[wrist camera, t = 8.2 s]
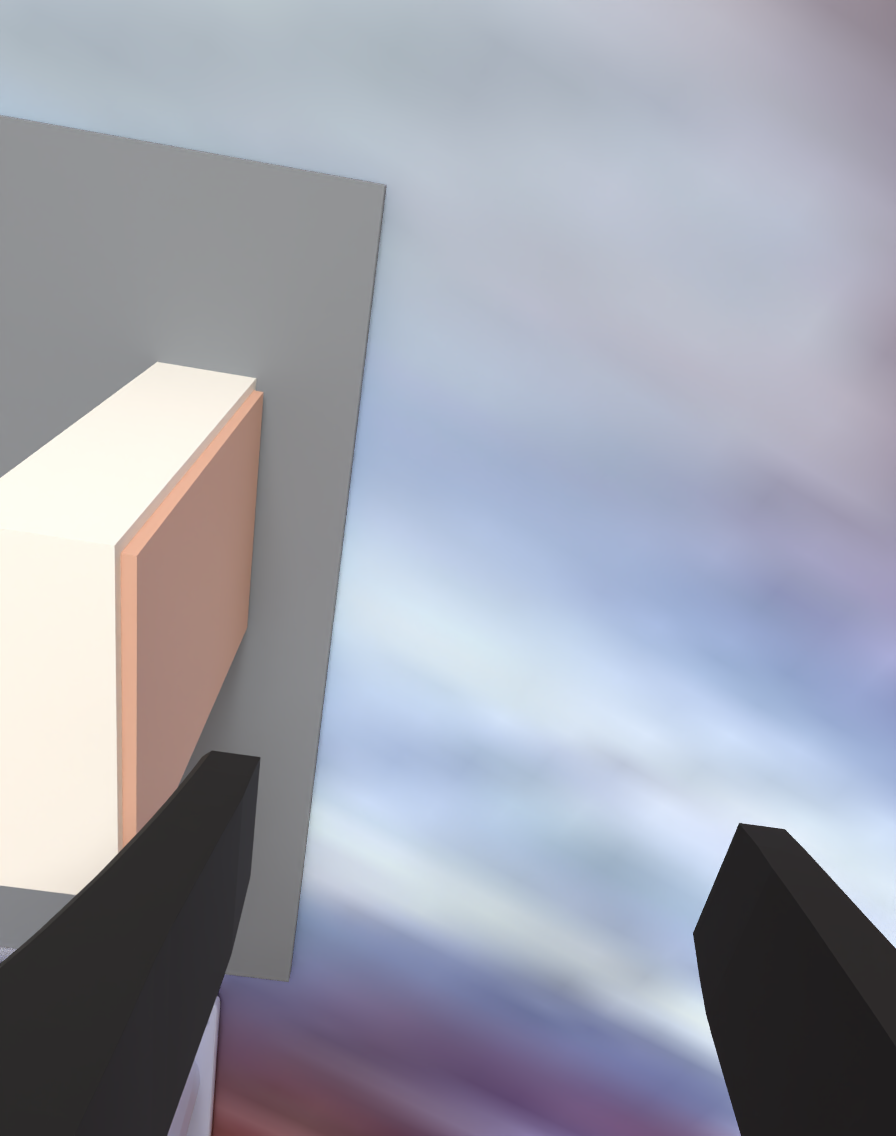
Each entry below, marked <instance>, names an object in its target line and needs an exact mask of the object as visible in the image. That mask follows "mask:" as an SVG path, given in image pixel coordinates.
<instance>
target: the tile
mask: <svg viewBox="0 0 896 1136" xmlns="http://www.w3.org/2000/svg"><path fill="white" fill-rule="evenodd" d="M263 393H264V392H260V391H256V378H252V377H246V376H240V375H234V374H228V373H222V372H216V371H210V370H203V369H197V368H191V367H185V366H179V365H173V364H167V363H161V362H156V363H155V364H154V365H152V366H151V367H150V368H148V369H147V370H146V371H144V372H143V373H142V374H140V375H139V376H137V377H136V378H135V379H133V380H132V381H131V382H129V383H128V384H127V385H125V386H124V387H123V388H121V389H120V390H119V391H117V392H116V393H115V394H113V395H112V396H110V397H109V398H108V399H106V400H105V401H104V402H102V403H101V404H100V405H98V406H97V407H96V408H94V409H93V410H92V411H90V412H89V413H87V414H86V415H85V416H83V417H82V418H81V419H79V420H78V421H77V422H75V423H74V424H73V425H71V426H70V427H69V428H67V429H66V430H65V431H63V432H62V433H60V434H59V435H58V436H56V437H55V438H54V439H52V440H51V441H50V442H48V443H47V444H46V445H44V446H43V447H42V448H40V449H39V450H37V451H36V452H35V453H33V454H32V455H31V456H29V457H28V458H27V459H25V460H24V461H23V462H21V463H20V464H19V465H17V466H16V467H15V468H13V469H12V470H10V471H9V472H8V473H6V474H5V475H4V476H2V477H1V478H0V886H8V887H16V888H24V889H32V890H40V891H48V892H56V893H64V894H72V895H77V894H78V893H79V892H80V891H81V890H82V889H83V888H84V887H85V886H86V885H87V884H88V883H89V882H90V881H92V880H93V879H94V878H95V877H96V876H97V875H98V874H99V873H100V872H101V871H102V870H103V869H104V868H105V866H106V865H107V864H108V863H109V862H110V861H111V860H112V859H113V858H114V857H115V856H116V855H117V854H118V853H119V852H120V851H121V850H122V849H123V848H124V847H125V846H126V844H127V843H128V842H129V841H130V840H131V839H132V838H133V837H134V836H135V835H136V834H137V833H138V832H139V831H140V830H141V829H142V828H143V827H144V825H145V824H146V823H147V822H148V821H149V820H150V819H151V818H152V817H153V815H154V814H155V813H156V812H157V811H158V810H159V809H160V808H161V806H162V805H163V804H164V803H165V802H166V801H167V800H168V798H169V797H170V796H171V795H172V794H173V792H174V791H175V790H176V789H177V788H178V785H179V783H180V781H181V778H182V776H183V774H184V771H185V769H186V767H187V765H188V762H189V760H190V758H191V755H192V753H193V751H194V749H195V746H196V744H197V742H198V739H199V737H200V735H201V732H202V730H203V728H204V726H205V723H206V721H207V719H208V716H209V714H210V712H211V709H212V707H213V705H214V703H215V700H216V698H217V696H218V693H219V691H220V689H221V686H222V684H223V682H224V680H225V677H226V675H227V673H228V670H229V668H230V666H231V664H232V661H233V659H234V657H235V654H236V652H237V650H238V647H239V645H240V643H241V641H242V638H243V636H244V634H245V631H246V629H247V624H248V609H249V595H250V580H251V566H252V552H253V537H254V523H255V508H256V494H257V480H258V465H259V451H260V436H261V422H262V407H263Z"/></svg>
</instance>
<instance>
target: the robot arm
mask: <svg viewBox="0 0 896 1136" xmlns="http://www.w3.org/2000/svg"><path fill="white" fill-rule="evenodd" d="M260 758H261V757H256V756H249V755H242V754H234V753H227V752H220V751H213V750H212V751H210V752H208V753H207V754H205V755H204V756H202V757H201V759H200V760H199V761H198V763H197V764H196V765H195V767H194V768H193V769H192V770H191V772H190V773H189V774H188V775H187V777H186V778H185V779H184V780H183V782H182V783H181V784H180V785H179V787H178V788H177V789H176V790H175V791H174V792H173V794H172V795H171V796H170V797H169V798H168V800H167V801H166V802H165V803H164V804H163V805H162V806H161V808H160V809H159V810H158V811H157V812H156V813H155V814H154V815H153V817H152V818H151V819H150V820H149V821H148V822H147V823H146V824H145V825H144V827H143V828H142V829H141V830H140V831H139V832H138V833H137V834H136V835H135V836H134V837H133V838H132V839H131V840H130V841H129V842H128V843H127V844H126V846H125V847H124V848H123V849H122V850H121V851H120V852H119V853H118V854H117V855H116V856H115V857H114V858H113V859H112V860H111V861H110V862H109V863H108V864H107V865H106V866H105V868H104V869H103V870H102V871H101V872H100V873H99V874H98V875H97V876H96V877H95V878H94V879H93V880H92V881H90V882H89V883H88V884H87V885H86V886H85V887H84V888H83V889H82V890H81V891H80V892H79V893H78V894H77V895H76V896H75V897H74V898H72V899H71V900H70V901H69V902H68V903H67V904H66V905H65V906H64V907H63V908H62V909H61V910H60V911H59V912H58V913H57V914H56V915H54V916H53V917H52V918H51V919H50V920H49V921H48V922H47V923H46V924H45V925H44V926H43V927H42V928H41V929H40V930H38V931H37V932H36V933H35V934H34V935H33V936H32V937H31V938H29V939H28V940H27V941H26V942H25V943H24V944H23V945H21V946H20V947H19V948H18V949H17V950H16V951H15V952H13V953H12V954H11V955H10V956H9V957H8V958H6V959H5V960H4V961H3V962H2V963H0V1136H211V1131H212V1116H213V1102H214V1087H215V1072H216V1058H217V1043H218V1029H219V1014H220V999H219V997H218V996H217V994H218V992H219V989H220V986H221V983H222V980H223V977H224V975H225V972H226V969H227V966H228V963H229V960H230V957H231V954H232V950H233V946H234V942H235V938H236V934H237V930H238V926H239V922H240V918H241V914H242V910H243V906H244V901H245V897H246V893H247V889H248V885H249V881H250V876H251V865H252V853H253V841H254V829H255V817H256V805H257V794H258V782H259V770H260ZM693 936H694V943H695V950H696V956H697V963H698V970H699V977H700V982H701V988H702V994H703V999H704V1005H705V1011H706V1015H707V1019H708V1023H709V1026H710V1030H711V1034H712V1037H713V1041H714V1044H715V1048H716V1051H717V1055H718V1058H719V1062H720V1065H721V1069H722V1072H723V1076H724V1079H725V1083H726V1086H727V1089H728V1093H729V1096H730V1100H731V1103H732V1106H733V1110H734V1113H735V1117H736V1120H737V1123H738V1127H739V1130H740V1134H741V1136H896V948H895V947H894V946H893V945H892V944H891V943H890V942H889V941H888V940H887V939H886V938H885V937H884V935H883V934H882V933H881V932H880V931H879V930H878V929H877V928H876V927H875V926H874V925H873V924H872V922H871V921H870V920H869V919H868V918H867V917H866V916H865V915H864V914H863V913H862V912H861V910H860V909H859V908H858V907H857V906H856V905H855V904H854V903H853V902H852V901H851V899H850V898H849V897H848V896H847V895H846V894H845V893H844V892H843V891H842V890H841V889H840V887H839V886H838V885H837V884H836V883H835V882H834V881H833V880H832V879H831V878H830V876H829V875H828V874H827V873H826V872H825V871H824V870H823V869H822V868H821V867H820V866H819V864H818V863H817V862H816V861H815V860H814V859H813V858H812V857H811V856H810V855H809V854H808V853H807V852H806V850H805V849H804V848H803V847H802V846H801V845H800V844H799V843H798V842H797V841H796V840H795V839H794V838H793V837H792V836H791V835H790V834H789V833H788V832H787V831H786V830H785V829H779V828H771V827H764V826H757V825H750V824H742V823H739V825H738V827H737V830H736V832H735V834H734V837H733V839H732V842H731V844H730V846H729V849H728V851H727V854H726V856H725V858H724V861H723V863H722V865H721V868H720V870H719V873H718V875H717V877H716V880H715V882H714V885H713V887H712V889H711V892H710V894H709V896H708V899H707V901H706V904H705V906H704V908H703V911H702V913H701V916H700V918H699V920H698V923H697V925H696V927H695V930H694V932H693Z"/></svg>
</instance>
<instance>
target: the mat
mask: <svg viewBox="0 0 896 1136" xmlns="http://www.w3.org/2000/svg"><path fill="white" fill-rule="evenodd" d="M385 192H386V185H385V184H379V183H374V182H368V181H363V180H357V179H352V178H346V177H341V176H335V175H329V174H324V173H318V172H313V171H307V170H302V169H296V168H291V167H285V166H280V165H274V164H269V163H263V162H257V161H252V160H246V159H241V158H235V157H230V156H224V155H219V154H213V153H208V152H202V151H197V150H191V149H186V148H180V147H174V146H169V145H163V144H158V143H152V142H147V141H141V140H136V139H130V138H125V137H119V136H114V135H108V134H103V133H97V132H91V131H86V130H80V129H75V128H69V127H64V126H58V125H53V124H47V123H42V122H36V121H31V120H25V119H20V118H14V117H8V116H3V115H0V478H1V477H2V476H4V475H5V474H6V473H8V472H9V471H10V470H12V469H13V468H15V467H16V466H17V465H19V464H20V463H21V462H23V461H24V460H25V459H27V458H28V457H29V456H31V455H32V454H33V453H35V452H36V451H37V450H39V449H40V448H42V447H43V446H44V445H46V444H47V443H48V442H50V441H51V440H52V439H54V438H55V437H56V436H58V435H59V434H60V433H62V432H63V431H65V430H66V429H67V428H69V427H70V426H71V425H73V424H74V423H75V422H77V421H78V420H79V419H81V418H82V417H83V416H85V415H86V414H87V413H89V412H90V411H92V410H93V409H94V408H96V407H97V406H98V405H100V404H101V403H102V402H104V401H105V400H106V399H108V398H109V397H110V396H112V395H113V394H115V393H116V392H117V391H119V390H120V389H121V388H123V387H124V386H125V385H127V384H128V383H129V382H131V381H132V380H133V379H135V378H136V377H137V376H139V375H140V374H142V373H143V372H144V371H146V370H147V369H148V368H150V367H151V366H152V365H154V364H155V363H156V362H161V363H167V364H173V365H179V366H185V367H191V368H197V369H203V370H210V371H216V372H222V373H228V374H234V375H240V376H246V377H252V378H256V391H260V392H264V393H263V407H262V422H261V436H260V451H259V465H258V480H257V494H256V508H255V523H254V537H253V552H252V566H251V580H250V595H249V609H248V624H247V629H246V631H245V634H244V636H243V638H242V641H241V643H240V645H239V647H238V650H237V652H236V654H235V657H234V659H233V661H232V664H231V666H230V668H229V670H228V673H227V675H226V677H225V680H224V682H223V684H222V686H221V689H220V691H219V693H218V696H217V698H216V700H215V703H214V705H213V707H212V709H211V712H210V714H209V716H208V719H207V721H206V723H205V726H204V728H203V730H202V732H201V735H200V737H199V739H198V742H197V744H196V746H195V749H194V751H193V753H192V755H191V758H190V760H189V762H188V765H187V767H186V769H185V771H184V774H183V776H182V778H181V781H180V783H179V785H180V784H181V783H182V782H183V780H184V779H185V778H186V777H187V775H188V774H189V773H190V772H191V770H192V769H193V768H194V767H195V765H196V764H197V763H198V761H199V760H200V759H201V757H202V756H204V755H205V754H207V753H208V752H210V751H212V750H213V751H220V752H227V753H234V754H242V755H249V756H256V757H261V758H260V770H259V782H258V794H257V805H256V817H255V829H254V841H253V853H252V865H251V876H250V881H249V885H248V889H247V893H246V897H245V901H244V906H243V910H242V914H241V918H240V922H239V926H238V930H237V934H236V938H235V942H234V946H233V950H232V954H231V957H230V960H229V963H228V966H227V969H226V972H225V974H228V975H236V976H245V977H253V978H261V979H269V980H277V981H286V982H289V977H290V972H291V966H292V958H293V949H294V941H295V933H296V925H297V916H298V908H299V900H300V892H301V883H302V875H303V867H304V859H305V850H306V842H307V834H308V826H309V818H310V809H311V801H312V793H313V785H314V776H315V768H316V760H317V752H318V743H319V735H320V727H321V719H322V710H323V702H324V694H325V686H326V678H327V669H328V661H329V653H330V645H331V636H332V628H333V620H334V612H335V603H336V595H337V587H338V579H339V571H340V562H341V554H342V546H343V538H344V529H345V521H346V513H347V505H348V496H349V488H350V480H351V472H352V463H353V455H354V447H355V439H356V431H357V422H358V414H359V406H360V398H361V389H362V381H363V373H364V365H365V356H366V348H367V340H368V332H369V323H370V315H371V307H372V299H373V291H374V282H375V274H376V266H377V258H378V249H379V241H380V233H381V225H382V216H383V208H384V200H385ZM179 785H178V787H179ZM75 896H76V895H72V894H64V893H56V892H48V891H40V890H32V889H24V888H16V887H8V886H0V947H7V948H15V949H18V948H19V947H20V946H21V945H23V944H24V943H25V942H26V941H27V940H28V939H29V938H31V937H32V936H33V935H34V934H35V933H36V932H37V931H38V930H40V929H41V928H42V927H43V926H44V925H45V924H46V923H47V922H48V921H49V920H50V919H51V918H52V917H53V916H54V915H56V914H57V913H58V912H59V911H60V910H61V909H62V908H63V907H64V906H65V905H66V904H67V903H68V902H69V901H70V900H71V899H72V898H74V897H75Z"/></svg>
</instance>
